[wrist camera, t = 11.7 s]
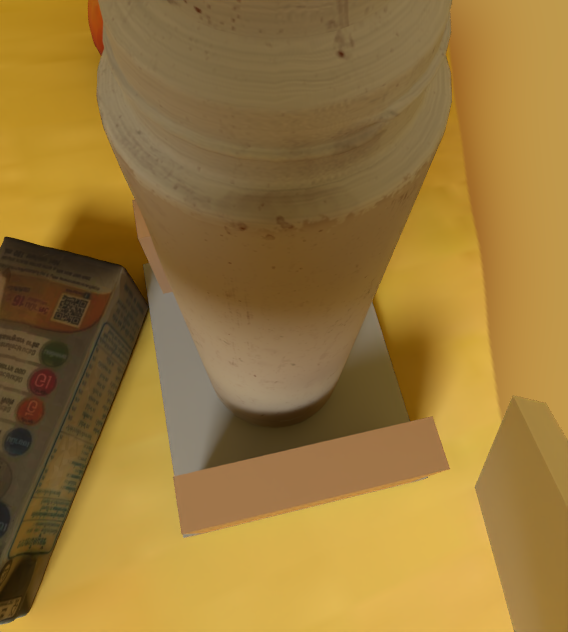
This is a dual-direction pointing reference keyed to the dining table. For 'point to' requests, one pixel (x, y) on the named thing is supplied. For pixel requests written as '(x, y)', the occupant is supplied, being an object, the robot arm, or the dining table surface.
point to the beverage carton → (53, 394)
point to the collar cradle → (280, 429)
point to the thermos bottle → (274, 171)
